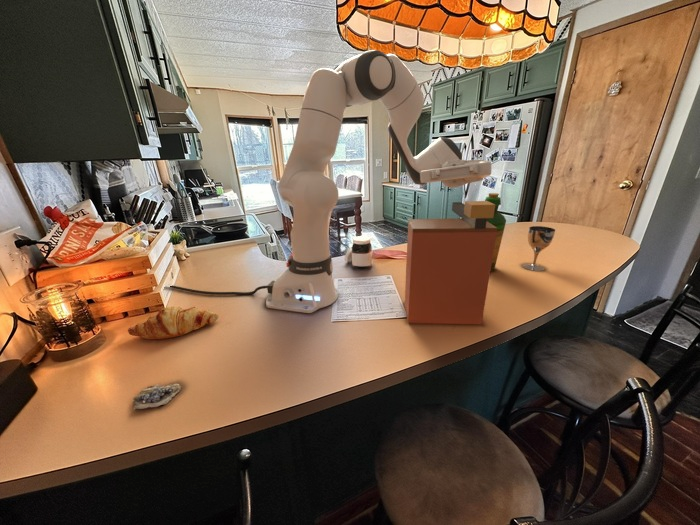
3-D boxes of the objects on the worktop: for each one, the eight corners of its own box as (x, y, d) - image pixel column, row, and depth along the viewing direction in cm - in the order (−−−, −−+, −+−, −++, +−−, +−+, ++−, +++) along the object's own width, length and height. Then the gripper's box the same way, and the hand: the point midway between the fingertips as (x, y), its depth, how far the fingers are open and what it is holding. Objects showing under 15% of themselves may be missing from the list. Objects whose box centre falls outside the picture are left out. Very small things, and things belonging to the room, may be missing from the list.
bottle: (480, 275, 100) (492, 197, 90) (461, 264, 110) (470, 193, 100) (504, 271, 103) (518, 194, 93) (484, 261, 112) (495, 190, 102)
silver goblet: (544, 273, 100) (554, 233, 95) (519, 268, 105) (527, 230, 99) (546, 266, 106) (556, 227, 101) (522, 261, 111) (530, 225, 105)
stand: (407, 322, 74) (412, 228, 65) (404, 303, 84) (408, 219, 74) (481, 324, 73) (497, 227, 63) (469, 304, 82) (482, 218, 72)
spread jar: (369, 271, 107) (369, 242, 103) (341, 269, 110) (340, 241, 105) (373, 260, 118) (373, 233, 114) (347, 259, 120) (346, 233, 116)
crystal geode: (134, 394, 55) (131, 387, 54) (180, 376, 59) (177, 369, 58) (133, 419, 50) (129, 411, 49) (183, 397, 54) (180, 389, 53)
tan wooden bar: (468, 228, 63) (471, 204, 61) (447, 210, 83) (449, 192, 81) (491, 228, 63) (495, 204, 61) (464, 210, 82) (466, 191, 80)
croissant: (222, 325, 82) (218, 299, 83) (217, 328, 73) (213, 298, 73) (137, 343, 75) (134, 313, 76) (120, 348, 66) (116, 315, 66)
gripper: (421, 168, 94) (416, 165, 82) (488, 158, 87) (494, 154, 74) (422, 187, 95) (417, 187, 83) (488, 179, 88) (493, 178, 76)
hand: (454, 171), depth 79 cm, fingers open, 8 cm apart
